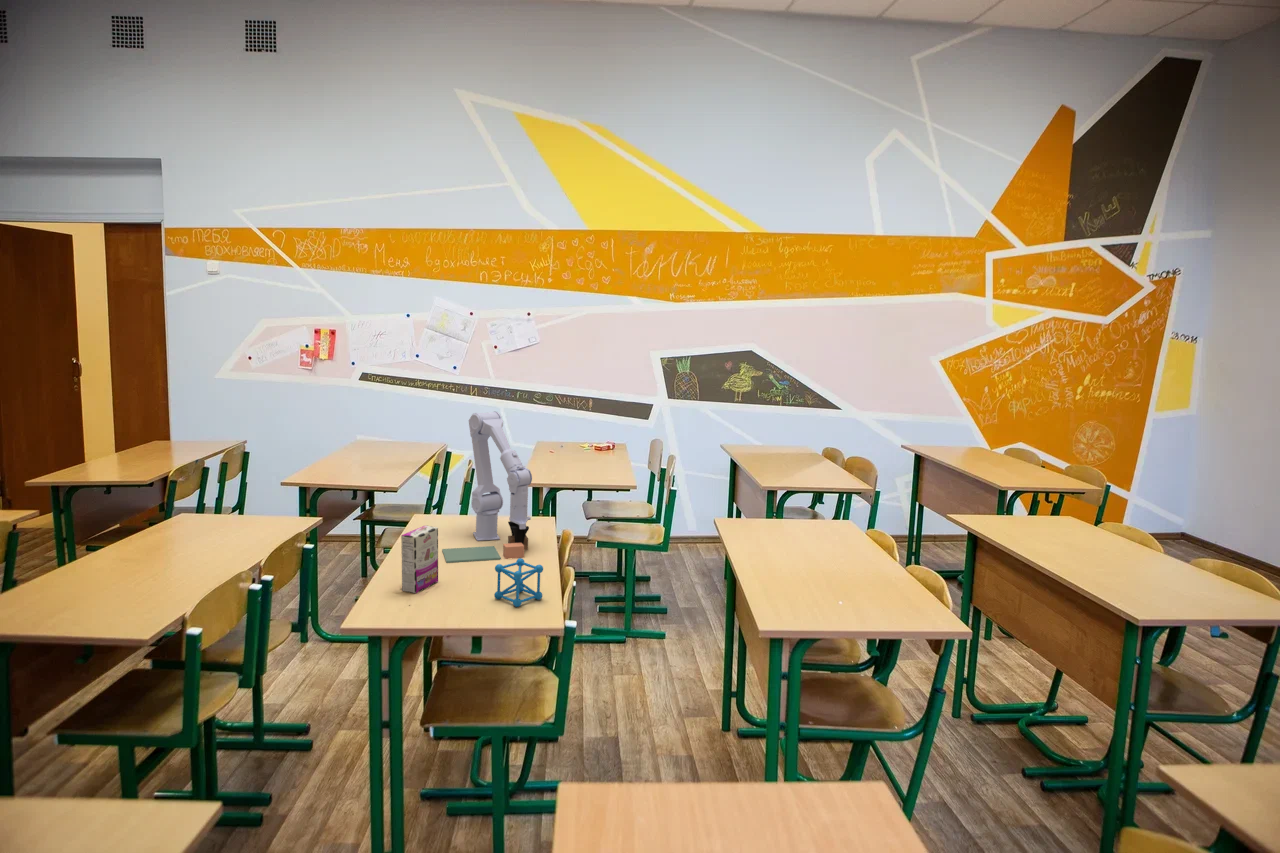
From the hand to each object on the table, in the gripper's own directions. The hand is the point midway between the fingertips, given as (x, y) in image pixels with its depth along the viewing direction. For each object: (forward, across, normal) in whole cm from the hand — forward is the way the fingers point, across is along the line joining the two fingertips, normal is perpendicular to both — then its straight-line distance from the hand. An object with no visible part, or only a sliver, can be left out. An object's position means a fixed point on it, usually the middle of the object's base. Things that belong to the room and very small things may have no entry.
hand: (517, 544), depth 256 cm
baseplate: (+1, -4, +16) cm, 17 cm away
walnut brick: (+1, 0, 0) cm, 1 cm away
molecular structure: (+2, -46, +9) cm, 47 cm away
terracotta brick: (+2, -8, +3) cm, 9 cm away
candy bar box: (+2, -30, +34) cm, 45 cm away
